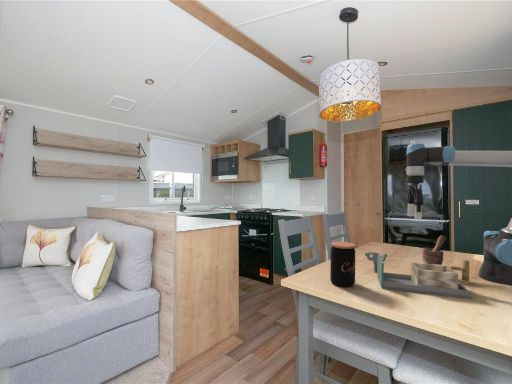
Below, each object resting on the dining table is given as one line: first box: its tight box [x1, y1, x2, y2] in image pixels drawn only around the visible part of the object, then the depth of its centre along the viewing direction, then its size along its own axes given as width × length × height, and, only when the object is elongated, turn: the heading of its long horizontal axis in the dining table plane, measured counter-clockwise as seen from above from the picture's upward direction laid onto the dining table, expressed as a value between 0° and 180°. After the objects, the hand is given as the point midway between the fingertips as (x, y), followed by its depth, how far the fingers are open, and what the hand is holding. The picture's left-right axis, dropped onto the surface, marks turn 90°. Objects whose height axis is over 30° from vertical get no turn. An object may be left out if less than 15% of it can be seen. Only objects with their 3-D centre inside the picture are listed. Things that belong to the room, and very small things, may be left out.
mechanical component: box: [364, 251, 388, 274], centre depth 133 cm, size 3×10×10 cm, turn 79°
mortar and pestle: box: [421, 234, 447, 265], centre depth 129 cm, size 12×9×20 cm
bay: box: [377, 254, 473, 300], centre depth 113 cm, size 32×15×11 cm, turn 71°
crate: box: [410, 259, 470, 289], centre depth 110 cm, size 20×12×12 cm, turn 71°
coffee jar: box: [329, 241, 356, 288], centre depth 117 cm, size 11×11×18 cm
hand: (414, 217), depth 129 cm, fingers open, 13 cm apart
